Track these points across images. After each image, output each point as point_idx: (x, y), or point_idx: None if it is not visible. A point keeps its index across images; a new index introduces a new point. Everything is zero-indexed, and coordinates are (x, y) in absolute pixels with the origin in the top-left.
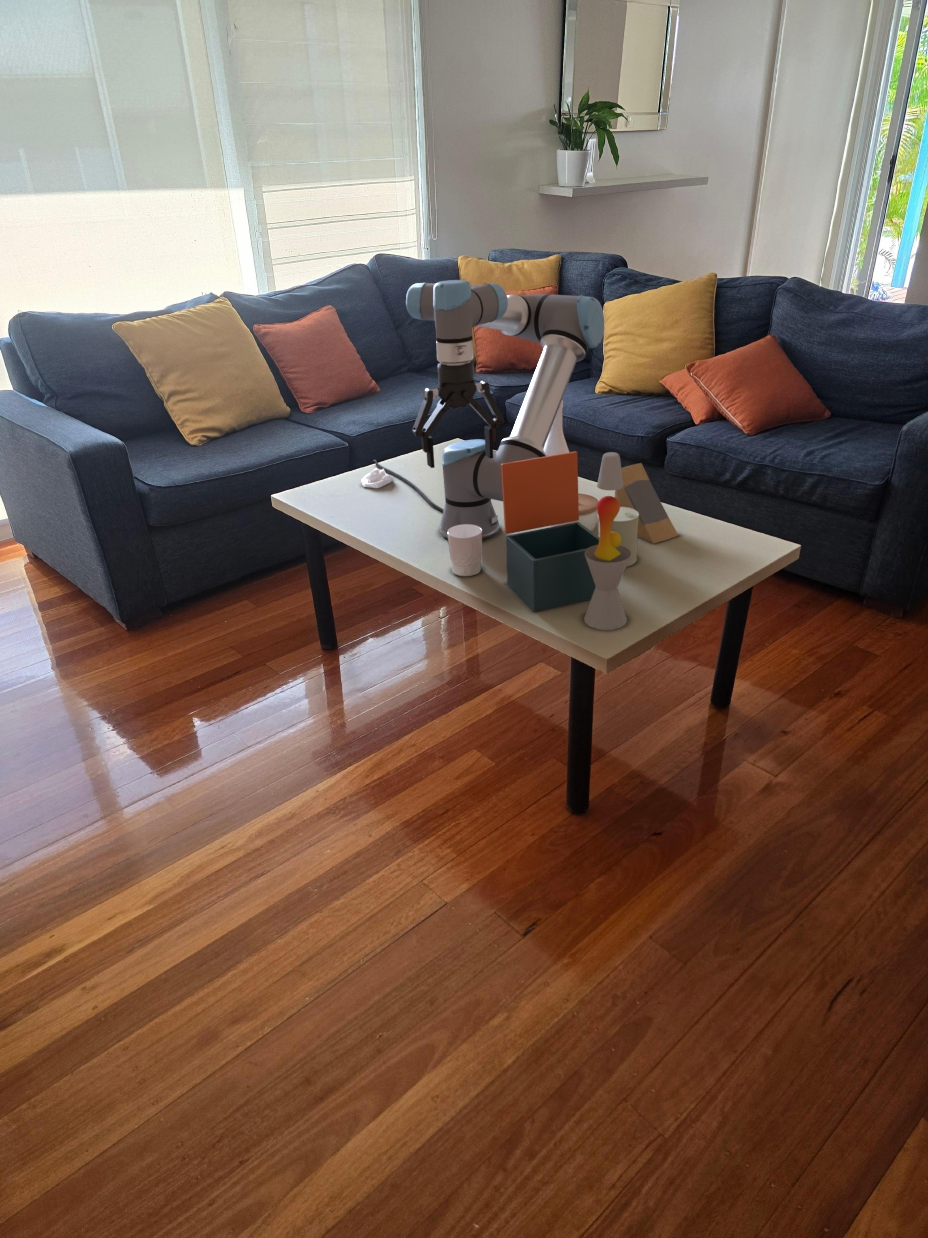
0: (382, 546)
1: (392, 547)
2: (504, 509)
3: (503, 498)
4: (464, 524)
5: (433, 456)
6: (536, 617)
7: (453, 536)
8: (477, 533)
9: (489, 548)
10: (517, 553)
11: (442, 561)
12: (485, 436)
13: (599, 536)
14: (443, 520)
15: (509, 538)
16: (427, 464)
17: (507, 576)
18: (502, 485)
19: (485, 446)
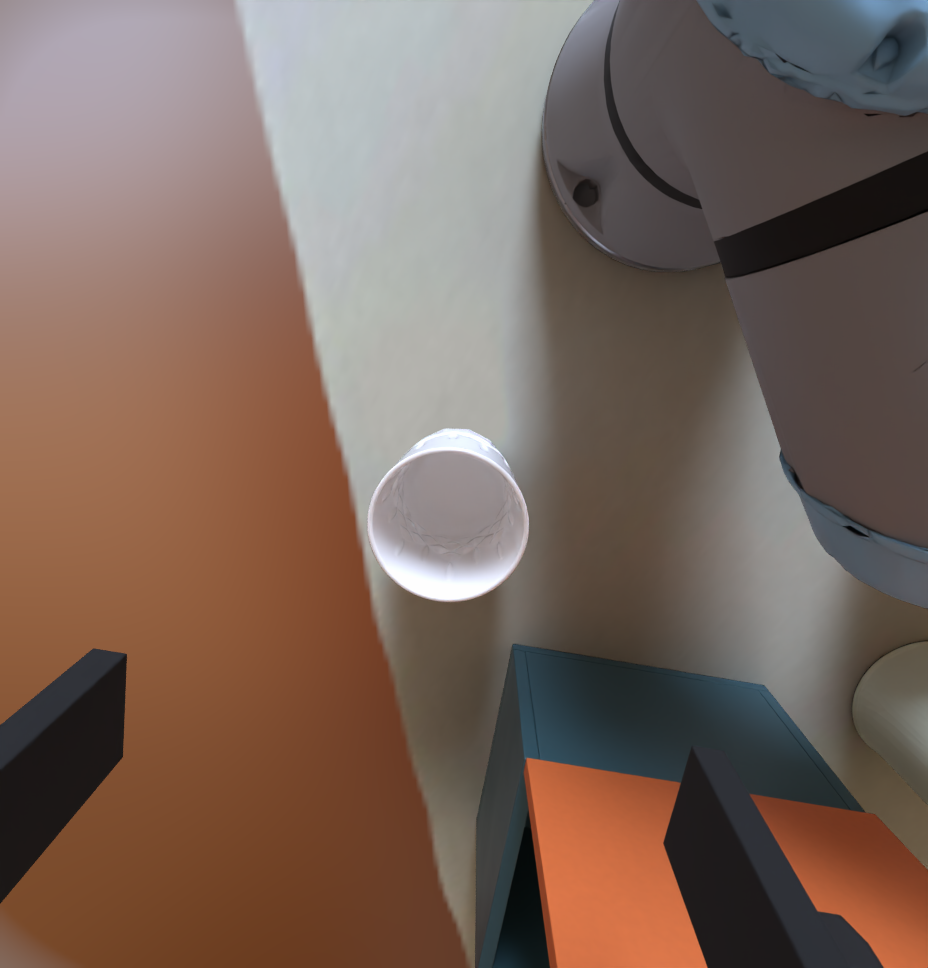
0: (267, 44)
1: (302, 86)
2: (535, 850)
3: (543, 893)
4: (486, 460)
5: (47, 842)
6: (464, 843)
7: (373, 553)
8: (518, 511)
9: (634, 357)
10: (500, 835)
11: (419, 355)
12: (774, 935)
13: (926, 740)
14: (565, 80)
15: (520, 788)
16: (92, 652)
17: (513, 663)
18: (553, 961)
19: (724, 815)
